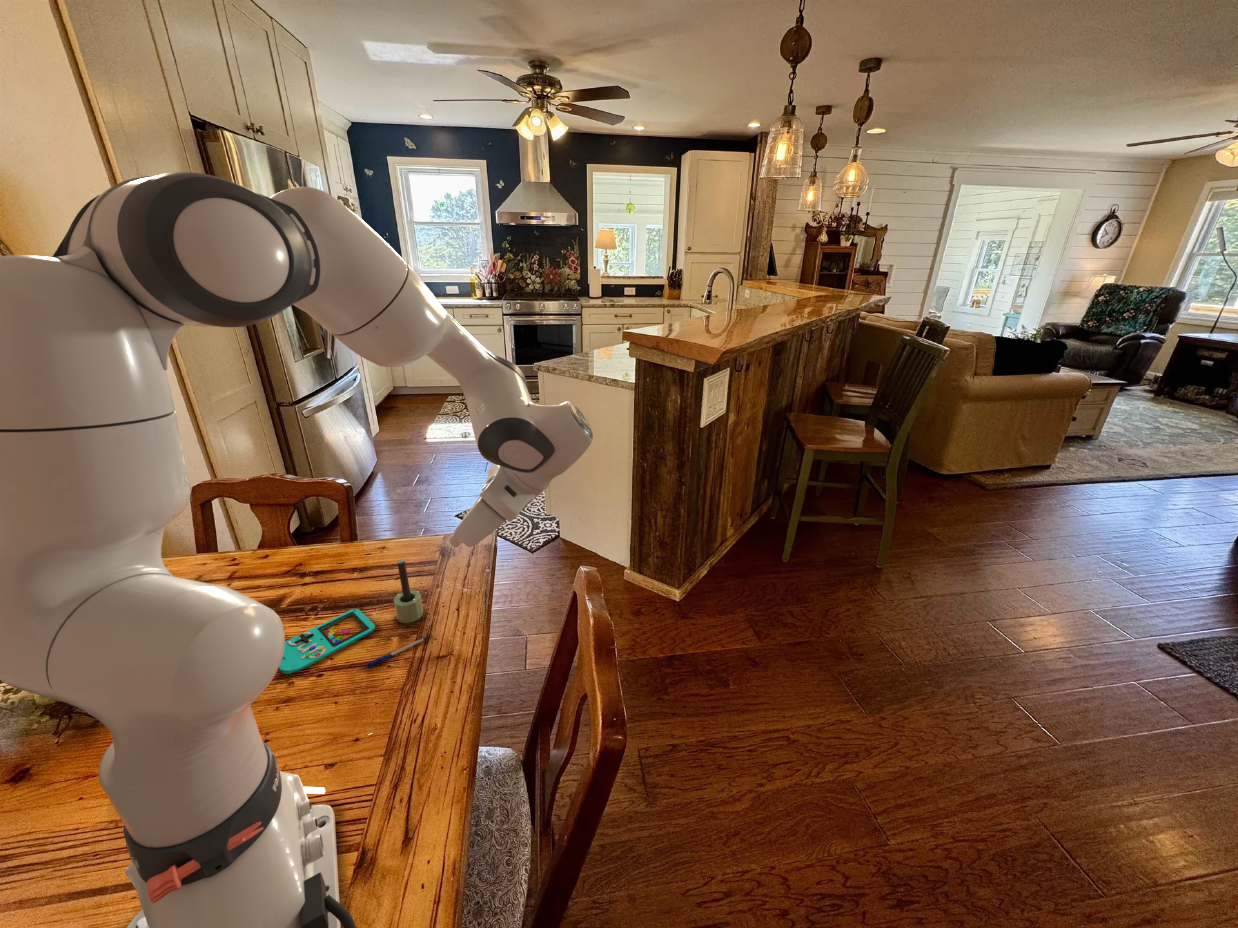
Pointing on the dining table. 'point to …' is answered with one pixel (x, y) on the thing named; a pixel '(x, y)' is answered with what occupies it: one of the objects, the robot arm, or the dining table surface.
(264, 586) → the dining table surface
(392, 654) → the ballpoint pen
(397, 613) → the green hollow cylinder
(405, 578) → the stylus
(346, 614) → the handheld gaming console
